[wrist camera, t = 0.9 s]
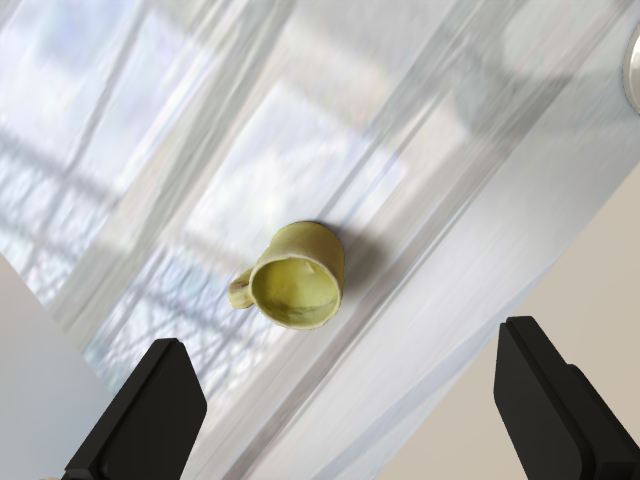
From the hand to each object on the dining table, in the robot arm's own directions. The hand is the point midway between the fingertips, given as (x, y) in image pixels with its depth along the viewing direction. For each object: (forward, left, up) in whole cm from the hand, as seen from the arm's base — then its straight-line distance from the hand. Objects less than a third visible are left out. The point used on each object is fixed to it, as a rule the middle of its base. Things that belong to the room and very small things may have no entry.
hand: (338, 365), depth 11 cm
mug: (+3, +13, -29) cm, 31 cm away
